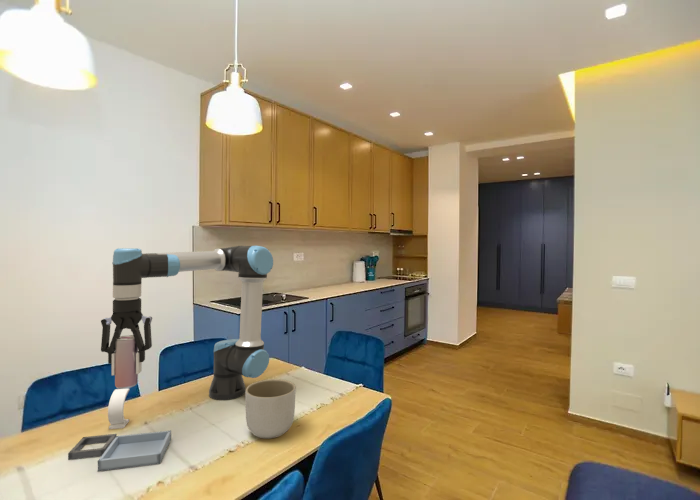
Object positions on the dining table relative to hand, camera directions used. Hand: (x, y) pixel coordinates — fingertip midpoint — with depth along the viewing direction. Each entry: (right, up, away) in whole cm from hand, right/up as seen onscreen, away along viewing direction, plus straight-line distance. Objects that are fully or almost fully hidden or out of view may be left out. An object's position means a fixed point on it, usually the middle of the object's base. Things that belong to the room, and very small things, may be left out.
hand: (126, 373), depth 111 cm
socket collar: (-11, -24, +2) cm, 27 cm away
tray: (+4, -25, -1) cm, 25 cm away
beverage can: (0, -4, 0) cm, 4 cm away
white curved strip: (-13, -25, +17) cm, 33 cm away
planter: (+41, -25, +14) cm, 50 cm away
